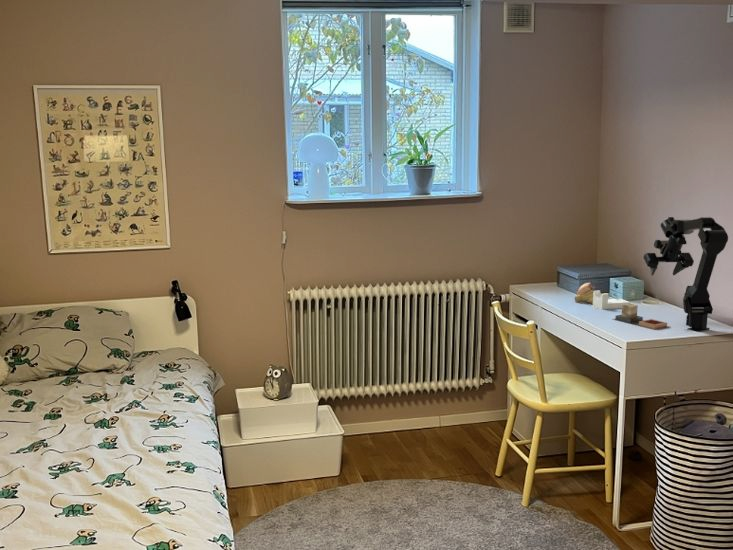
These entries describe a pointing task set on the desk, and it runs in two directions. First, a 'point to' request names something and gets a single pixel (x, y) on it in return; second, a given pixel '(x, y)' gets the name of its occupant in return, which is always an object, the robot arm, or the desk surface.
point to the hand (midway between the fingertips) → (662, 274)
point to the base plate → (642, 322)
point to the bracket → (606, 301)
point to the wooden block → (629, 310)
